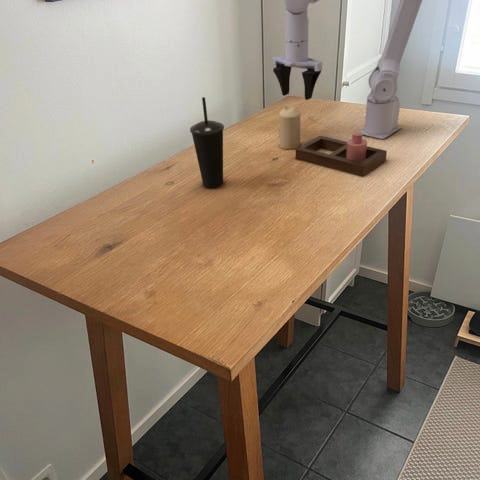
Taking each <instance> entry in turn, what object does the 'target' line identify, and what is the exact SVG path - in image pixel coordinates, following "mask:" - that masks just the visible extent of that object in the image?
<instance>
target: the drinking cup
mask: <svg viewBox="0 0 480 480" xmlns="http://www.w3.org/2000/svg"><path fill="white" fill-rule="evenodd" d="M201 101H202V110H203V119H204V120H201V121H199V122H197V123H195V124H193V125H191V126H190V128H189V132H190V134H191V136H192V140H193V145H194V149H195V154H196V158H197V162H198V163H197V164H198V167H199V172H200V177H201V181H202V186H203V187H204V188H206V189H210V190H211V189H212V190H213V189H218V188H220V187H222V186H223V185H224V129H225V125H224V123H222V122H220V121H215V120H210V119H209V118H208V111H207V103H206V97H205V96H204V97H203V96H202V97H201ZM208 119H209V120H208Z"/></svg>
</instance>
